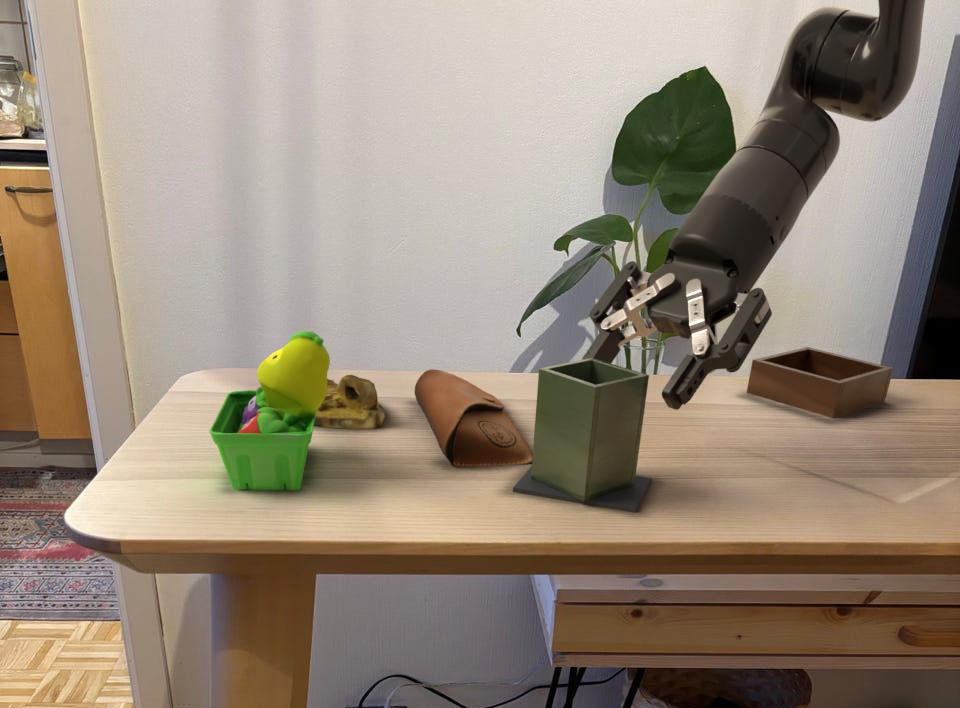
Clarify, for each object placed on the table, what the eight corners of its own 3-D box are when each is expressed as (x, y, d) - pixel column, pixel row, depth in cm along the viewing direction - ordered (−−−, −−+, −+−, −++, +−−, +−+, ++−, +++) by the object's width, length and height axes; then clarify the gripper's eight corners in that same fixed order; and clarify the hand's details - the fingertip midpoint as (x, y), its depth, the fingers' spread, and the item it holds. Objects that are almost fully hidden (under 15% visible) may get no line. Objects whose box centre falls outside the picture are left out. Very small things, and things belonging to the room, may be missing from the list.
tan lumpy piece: (238, 414, 94) (347, 449, 86) (229, 367, 91) (340, 399, 83) (307, 385, 100) (415, 415, 92) (300, 340, 97) (411, 367, 89)
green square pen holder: (581, 463, 81) (592, 357, 77) (634, 485, 78) (649, 375, 73) (530, 478, 78) (538, 368, 73) (583, 502, 74) (596, 387, 70)
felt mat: (651, 484, 80) (652, 477, 79) (635, 515, 74) (636, 508, 74) (536, 466, 82) (536, 459, 82) (512, 494, 76) (512, 487, 76)
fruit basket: (233, 447, 83) (221, 313, 77) (336, 448, 84) (332, 316, 78) (214, 498, 73) (198, 348, 67) (330, 498, 74) (325, 351, 68)
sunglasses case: (542, 460, 82) (507, 394, 78) (472, 502, 82) (434, 439, 79) (495, 398, 97) (464, 341, 93) (436, 434, 98) (403, 378, 94)
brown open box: (799, 384, 109) (807, 346, 107) (883, 407, 102) (893, 368, 100) (745, 398, 103) (752, 359, 100) (831, 424, 96) (840, 383, 94)
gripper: (652, 181, 79) (543, 341, 78) (804, 202, 70) (682, 383, 69) (683, 245, 84) (581, 395, 83) (826, 272, 75) (714, 440, 75)
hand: (627, 389), depth 76 cm, fingers open, 8 cm apart
